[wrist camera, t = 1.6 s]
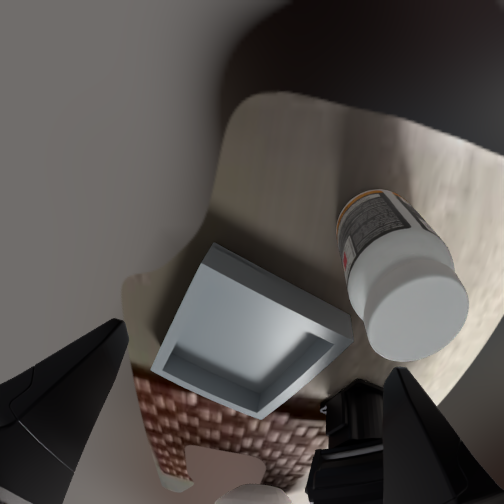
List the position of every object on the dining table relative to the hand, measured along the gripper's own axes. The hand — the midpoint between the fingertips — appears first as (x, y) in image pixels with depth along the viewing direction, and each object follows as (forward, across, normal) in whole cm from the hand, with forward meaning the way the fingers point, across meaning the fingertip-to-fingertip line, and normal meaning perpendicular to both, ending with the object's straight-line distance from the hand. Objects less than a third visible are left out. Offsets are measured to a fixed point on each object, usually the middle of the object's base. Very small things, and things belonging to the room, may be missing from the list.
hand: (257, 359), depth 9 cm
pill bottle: (+13, -6, 0) cm, 14 cm away
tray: (+12, +2, +12) cm, 17 cm away
